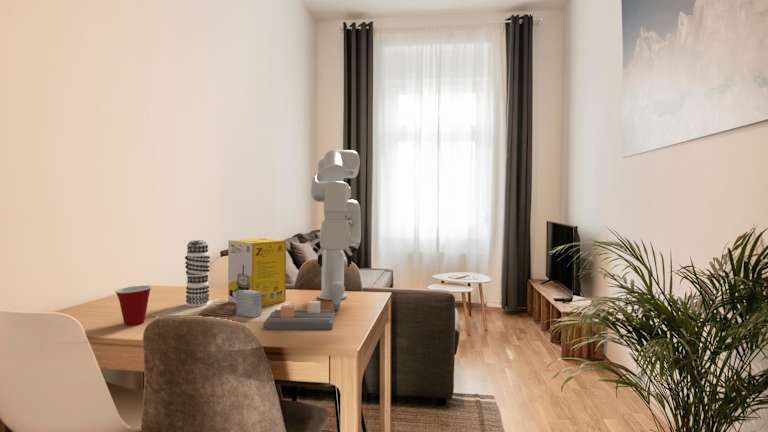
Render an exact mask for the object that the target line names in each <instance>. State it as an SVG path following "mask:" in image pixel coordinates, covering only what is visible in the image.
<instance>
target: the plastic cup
mask: <svg viewBox="0 0 768 432" xmlns="http://www.w3.org/2000/svg"><path fill="white" fill-rule="evenodd" d="M151 289H152V285H134V286H126V287H122V288H118V289H116V290H114V293H116V295H117V299H118V301H119V306H120V311H121V315H122V318H123V319H122V320H123V323H124V325H125V326H138V325H142V324H144V323H145V320H146V314H147V310H148V309H147V308H148V302H149V297H150V293H151Z"/></svg>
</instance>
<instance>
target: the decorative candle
mask: <svg viewBox="0 0 768 432" xmlns="http://www.w3.org/2000/svg"><path fill="white" fill-rule="evenodd" d="M186 246H187V249H186V250H187V251H186V256H184V260H186V261H185V263H184V264H185V269H186V270H185V275H186V276H187V277H186V278H187V279H186V280H187V282H186V287H185V289H186V291H185V293H186V295H185V298H186V299H185V305H186V306H187V307H192V308H193V307H194V308H195V307H196V306H197V307H204V306H203V305H205V306H207V304H208V305H210V293H209V292H210V286H209V275H210V273H209V272H210V271H211V270H210V269H209V268H210V267H211V266H210V265H209V264H210V263H211V261H210V260H209V259H210V258H211V256H209V244H208V243H207V241H206V240H204V239H202V240H201V239H198V240H197V239H196V240H190V241H189V242H188V243H187V244H186Z"/></svg>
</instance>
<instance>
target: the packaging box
mask: <svg viewBox="0 0 768 432" xmlns="http://www.w3.org/2000/svg"><path fill="white" fill-rule="evenodd" d="M227 243H228V244H227V245H228V246H227V247H228V249H227V250H228V253H227V254H228V260H227V261H228V272H227V275H228V278H227V280H228V281H227V282H228V286H227V289H228V290H227V295H228V296H227V301H231V302H234V303H233V304H235V303H236V292H238V291H241V290H252V291H260V292H261V307H263V306H271V305H274V304H275V305H276V304H280V303H284V302H286V300H287V299H286V297H287V295H286V292H287V291H286V290H287V288H286V286H287V282H286V281H287V277H286V276H287V273H286V272H287V240H283V239H275V238H267V237H266V238H265V237H264V238H263V237H261V238H245V239H243V238H242V239H230V240H229V239H228V242H227ZM231 302H230V303H231Z"/></svg>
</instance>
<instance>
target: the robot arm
mask: <svg viewBox="0 0 768 432" xmlns="http://www.w3.org/2000/svg"><path fill="white" fill-rule="evenodd" d="M360 165H361V159H360V155H359V153H358V152H357V151H355V150H352V149H351V150H350V149H345V150H344V149H331V150H328V152H326V153H325V154H324V158H322V159H320V160H319V161H318V163H317V171H316V173H315V174H314V175H313V177H312V178H311V188H310V194H311V195H310V196H311V198H312V200H313V201H314V202H317V203H323V216H324V218H323V219H324V220H322V221H321V228H319V229H320V230H319V237H318V238H316V239H313V240H312V241H310V242H309V245H310V247H311V248H312V251H313V252H314V253H315V254H316V255H317V264H318V265H319V268H321V292H320V293H317V298H318V299H319V300H320V299H321V300H325V301H326V300H327V301H332V297H331V295H330V293H329V286H330V284H331V283H333V282H335V281H338V282H341V283H342V284H343V285H344V284H345V278H344V277H345V255H344V254H343V252H342V251H345V252H346V253H347V258H346V259H347V262H346V263H347V265H346V266H347V268H350V267H351V265H352V262H353V259H352V258H353V257H352V256H353V254H355V252H357V250H358V249H359V247H360V245H361V239H362V216H361V215H362V213H361V205H360V203H359V202H358V201H357V200H355V199H351V197H352V188H351V186H350V185H349V183H347V182H344V179H354V178H356V177H358V174H359V170H360ZM317 243H319V246H320V248H319V249H318V248H317V247H316V244H317ZM350 247H353V248H352V249H351V248H350ZM344 286H345V285H344ZM347 297H348V293H346V292H344V294H343V296H342V298H341V300H344V299H347Z"/></svg>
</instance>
